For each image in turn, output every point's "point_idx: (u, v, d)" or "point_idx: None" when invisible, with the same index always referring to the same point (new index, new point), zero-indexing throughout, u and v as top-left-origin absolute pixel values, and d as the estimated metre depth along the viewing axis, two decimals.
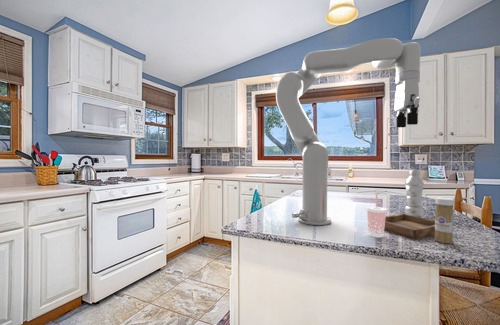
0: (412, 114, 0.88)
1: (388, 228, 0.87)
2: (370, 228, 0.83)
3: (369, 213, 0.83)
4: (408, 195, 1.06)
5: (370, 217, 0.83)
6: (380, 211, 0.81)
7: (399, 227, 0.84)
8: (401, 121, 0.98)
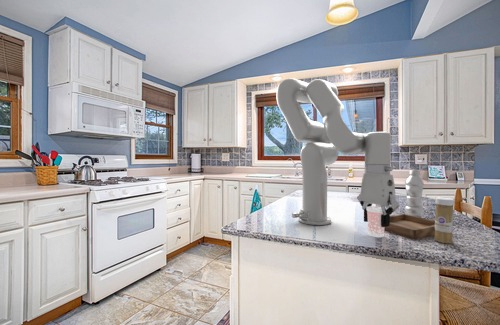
0: None
1: (388, 228, 0.87)
2: (370, 228, 0.83)
3: (369, 213, 0.83)
4: (408, 195, 1.06)
5: (370, 217, 0.83)
6: (380, 211, 0.81)
7: (399, 227, 0.84)
8: None
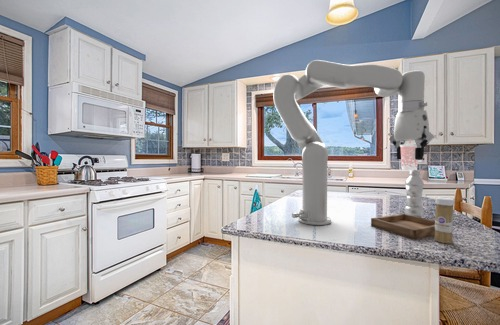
0: None
1: (388, 228, 0.87)
2: (404, 163, 0.89)
3: (403, 149, 0.89)
4: (408, 195, 1.06)
5: (404, 152, 0.88)
6: (414, 145, 0.86)
7: (399, 227, 0.84)
8: None
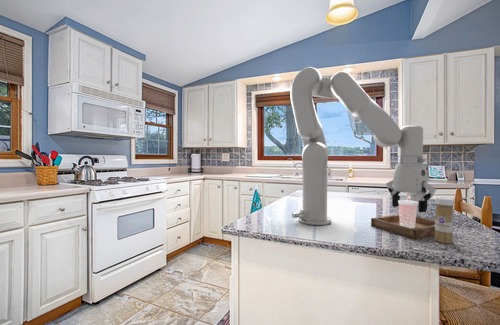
0: None
1: (388, 228, 0.87)
2: (402, 220, 0.90)
3: (401, 206, 0.89)
4: None
5: (402, 209, 0.89)
6: (412, 204, 0.87)
7: (399, 227, 0.84)
8: None
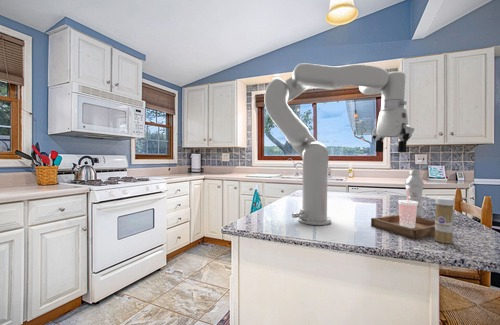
0: None
1: (388, 228, 0.87)
2: (402, 220, 0.90)
3: (401, 206, 0.89)
4: None
5: (402, 209, 0.89)
6: (412, 204, 0.87)
7: (399, 227, 0.84)
8: None
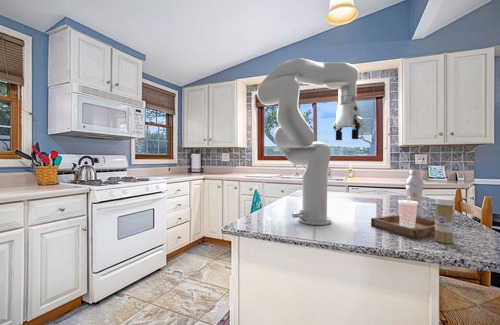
0: None
1: (388, 228, 0.87)
2: (402, 220, 0.90)
3: (401, 206, 0.89)
4: None
5: (402, 209, 0.89)
6: (412, 204, 0.87)
7: (399, 227, 0.84)
8: None
